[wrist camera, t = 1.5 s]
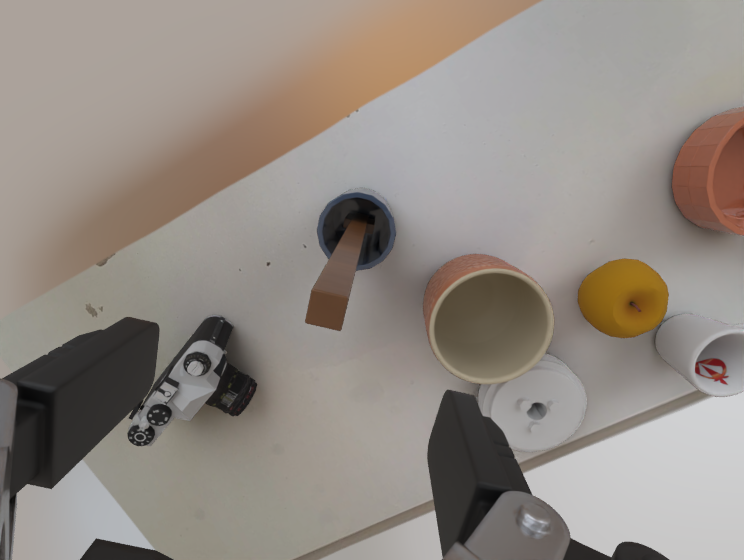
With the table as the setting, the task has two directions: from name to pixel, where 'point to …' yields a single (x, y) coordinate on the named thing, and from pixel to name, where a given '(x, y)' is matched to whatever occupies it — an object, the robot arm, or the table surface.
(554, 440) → the white thick round disc
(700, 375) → the cup
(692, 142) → the bowl
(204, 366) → the camera
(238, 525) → the table surface
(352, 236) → the stick
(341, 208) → the crock
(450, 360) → the planter
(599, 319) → the apple
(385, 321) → the table surface
